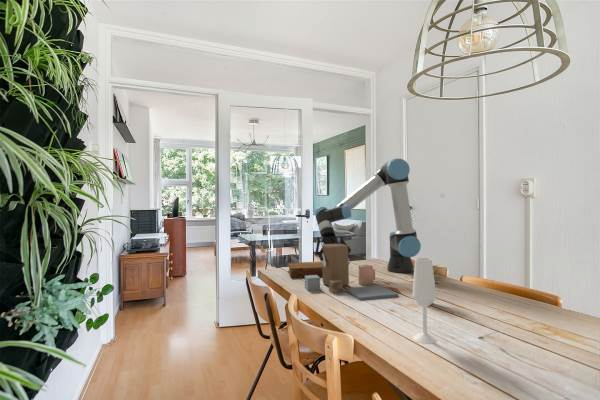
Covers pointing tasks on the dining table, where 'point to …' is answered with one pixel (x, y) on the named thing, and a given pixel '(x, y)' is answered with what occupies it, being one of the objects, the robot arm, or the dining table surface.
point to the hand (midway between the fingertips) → (337, 264)
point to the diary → (305, 269)
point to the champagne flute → (424, 293)
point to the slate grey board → (371, 292)
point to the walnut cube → (335, 286)
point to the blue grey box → (312, 282)
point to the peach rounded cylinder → (366, 275)
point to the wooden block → (335, 263)
